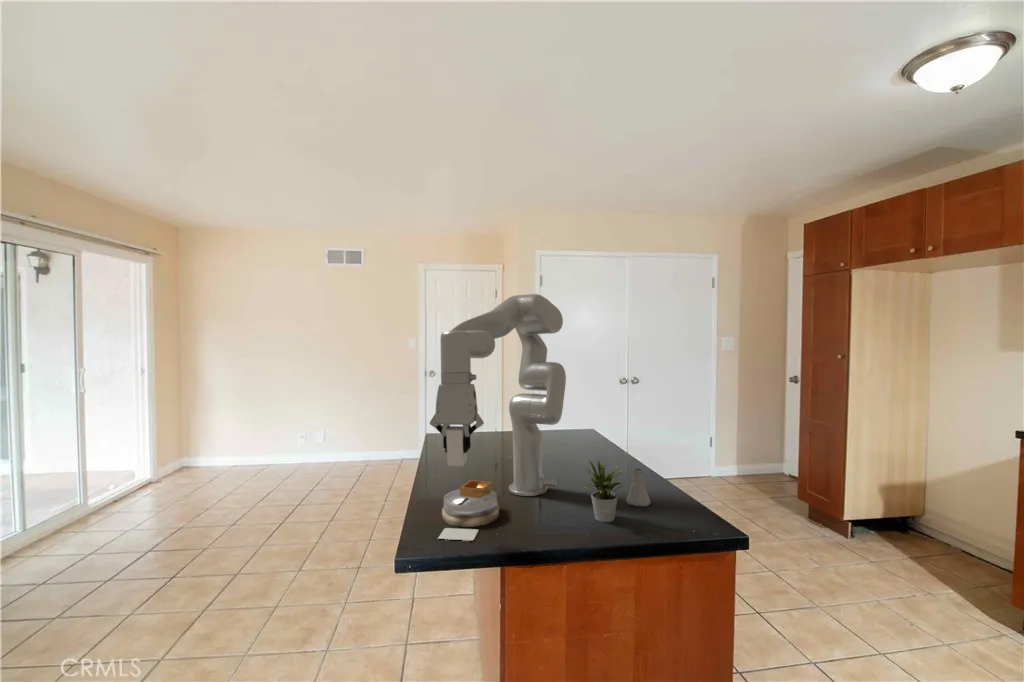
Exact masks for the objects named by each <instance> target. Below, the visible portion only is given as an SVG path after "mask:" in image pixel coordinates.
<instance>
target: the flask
mask: <svg viewBox="0 0 1024 682" xmlns="http://www.w3.org/2000/svg"><path fill="white" fill-rule="evenodd" d="M632 472H633V474H632V476H633V477H632V482H631V484H630V489H629V490H628V493H627V496H626V499H625V501H626V503H627V504H628V505H631V506H635V507H648V506H650V505H651V504H652V502H651V499H650V496H649V494H648V491H647V489H646V485H645V482H644V478H643V476H644V475H643V473H644V469H643V468H641V467H640V468H639V467H635V468H632Z"/></svg>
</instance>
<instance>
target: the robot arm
mask: <svg viewBox="0 0 1024 682" xmlns="http://www.w3.org/2000/svg"><path fill="white" fill-rule="evenodd" d="M563 321H564V319H563V315H562V313H561V311H560V309H559V308H558V307H557V306H556V305H554V304H553V303H552V302H551V301H550V300H549V299H548V298H546V297H544V296H543V295H541V294H538V293H532V294H517V295H512V296H509V297H508V298H506V299H505V300H503V301H502V302H501V303H500V304H498V305H497V306H496V307H494V308H493V309H491V310H490V311H487V312H485V313H482V314H479V315H477V316H475V317H474V316H473V317H472V318H470V319H467V320H465V321H463V322H461V323H459V324H458V325H456V326H454V327H453V328H452V329H451V330H445V331H443V332H442V333H440V384H438V387H437V393H436V401H435V413H434V415H432V418H431V420H430V421H429V425H430V426H432V427H433V428H434V429H436V430H437V431H438V432H439V434H441V436H442V437H443V439H442V442H443V443H442V447H443V449H444V452H445V453H447V438H446V430H447V429H448V428H449V427H450V426H457V425H459V426H460V425H461V426H463V428H464V433H465V434H464V437H463V452H464V453H466V452H468V451H469V450H470V449H471V443H472V442H471V436H472V434H473V433H474V432H475V431H476V430H477V429H479V428H480V427H481V426H483V425H484V424H485V423H484V420H483V419H482V417H481V416H480V414H479V413H478V412H479V409H478V401H477V399H478V398H477V393H476V392H477V391H476V387H475V384H474V383H472V382H473V381H476V380H477V374H473V373H472V371H471V370H472V367H471V366H472V365H471V361H472V360H471V359H484V358H488V357H489V356H491V355H492V354H493V352H494V351H495V348H496V341H495V339H499V338H503V337H505V336H507V335H509V333H510V332H512V331H513V330H514V329H515V330H516V333H517V335H518V338H519V339H520V340H519V341H520V343H521V347H522V351H521V357H520V364H519V365H520V366H519V370H518V371H519V372H518V384H519V386H520V388H522V389H523V390H528V391H537V392H538V391H543V392H544V391H545V392H546V394H543V393H542V394H541V393H529V392H528V393H518V394H515V395H514V396H513V397H512V398H511V399H510V400H509V406H508V408H509V409H508V412H509V417H510V421H511V422H510V423H511V429H512V458H513V459H512V460H513V463H512V465H513V466H512V467H513V470H512V471H513V472H512V473H513V482H512V483H511V484H510V485H509V486H508V491H509V492H510V493H511V494H513V495H516V496H521V497H534V496H539V495H543V494H545V493H546V492H547V491H548V486H549V487H557V480H556V479H553V478H552V477H551V478H546V477H545V473H543V439H542V438H543V436H542V433H541V430H540V429H539V427H538V425H545V426H547V425H548V426H553V425H557V424H558V423H559V422H560V421H561V419H562V416H563V410H564V400H565V391H566V383H567V376H566V375H567V374H566V371H565V368H564V366H563V365H562V364H561V363H559V362H556V361H554V362H553V361H547V358H548V357H547V355H548V347H547V345H546V343H545V342H544V340H543V339H542V337H541V336H540V334H541V335H543V334H545V335H546V334H549V335H550V334H551V335H552V334H556V333H558V332H560V330H561V329H562V327H563V324H564V323H563ZM474 422H475V424H474ZM537 424H538V425H537Z"/></svg>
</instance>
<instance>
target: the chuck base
mask: <svg viewBox="0 0 1024 682" xmlns="http://www.w3.org/2000/svg"><path fill="white" fill-rule="evenodd" d="M499 516H500V506H499V503H497V508H496V510H495V511H493V512H492V513H489V514H487V515H484V516H479V517H471V518H462V517H455V516H451V515H449V514H447V513H446V512H445V511H444V506H443V507H442V508H441V517H442V518H441V519H442V521H443V520H444V521H445V523H446V524H447V523H448V525H450V526H453V525H454V527H458V526H460V527H461V528H476V527H480V525H481V526H486V525H487V524H491V523H493V522H495V521H496V520H497V519H498V518H499ZM495 519H496V520H495ZM494 520H495V521H494ZM444 521H443V522H444ZM492 521H493V522H492ZM490 522H491V523H490ZM475 526H476V527H475Z"/></svg>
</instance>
